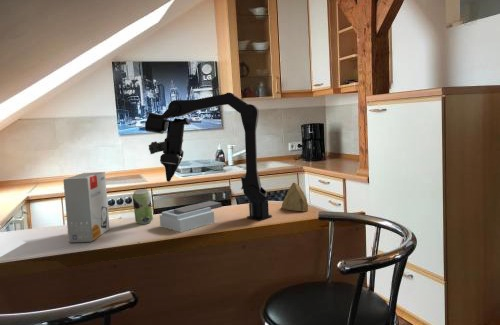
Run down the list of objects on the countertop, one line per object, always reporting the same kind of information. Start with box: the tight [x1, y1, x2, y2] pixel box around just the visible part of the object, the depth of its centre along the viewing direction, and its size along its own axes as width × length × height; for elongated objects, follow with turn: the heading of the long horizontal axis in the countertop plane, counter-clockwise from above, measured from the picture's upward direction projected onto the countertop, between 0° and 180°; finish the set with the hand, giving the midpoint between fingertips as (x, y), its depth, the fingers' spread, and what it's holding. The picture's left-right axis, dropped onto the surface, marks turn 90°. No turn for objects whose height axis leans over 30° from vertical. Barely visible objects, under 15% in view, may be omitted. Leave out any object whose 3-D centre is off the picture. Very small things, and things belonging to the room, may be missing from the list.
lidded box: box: [159, 203, 215, 233], centre depth 142 cm, size 12×14×5 cm
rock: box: [280, 182, 309, 212], centre depth 156 cm, size 11×9×10 cm
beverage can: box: [132, 188, 154, 225], centre depth 147 cm, size 6×7×12 cm
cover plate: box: [174, 200, 223, 215], centre depth 146 cm, size 6×16×2 cm, turn 134°
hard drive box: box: [63, 171, 111, 243], centre depth 134 cm, size 16×8×20 cm, turn 179°
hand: (169, 179), depth 149 cm, fingers open, 9 cm apart
